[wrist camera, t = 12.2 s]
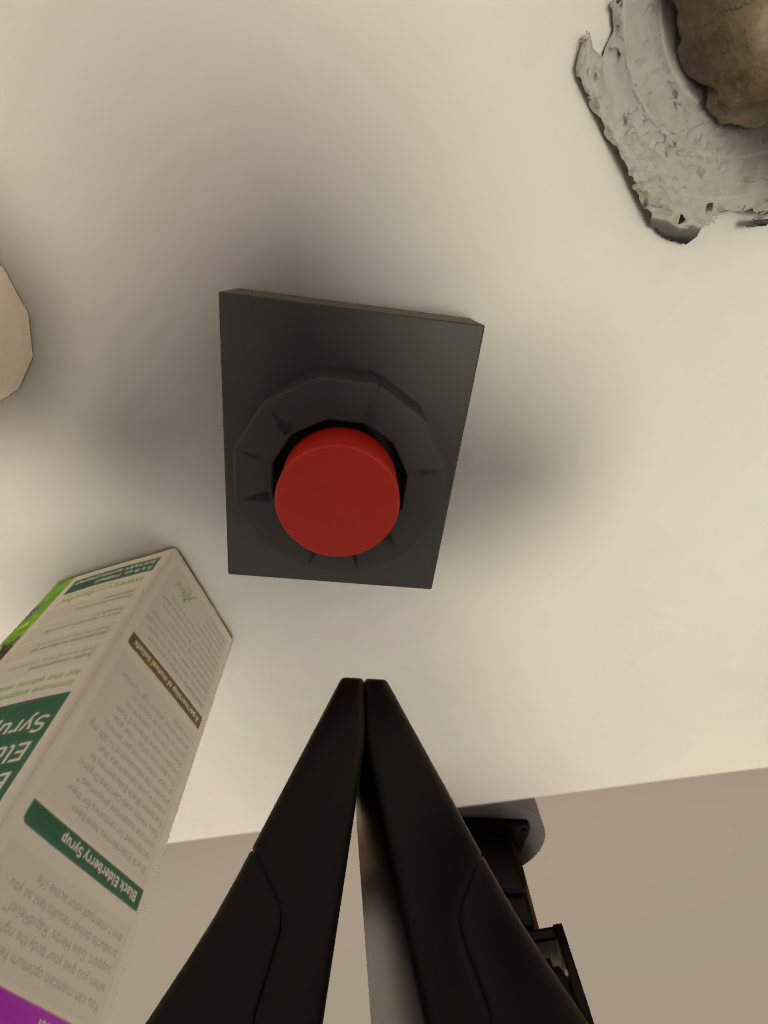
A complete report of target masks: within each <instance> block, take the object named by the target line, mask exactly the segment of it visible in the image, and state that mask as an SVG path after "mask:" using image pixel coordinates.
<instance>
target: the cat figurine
mask: <svg viewBox="0 0 768 1024" xmlns="http://www.w3.org/2000/svg"><path fill="white" fill-rule="evenodd" d="M610 7H611V8H612V11H613V15H612V20H613V26H614V29H613V33H612V35H611V37H610V39H609V41H608V43H607V45H606V47H605V50H604V55H603V56H600V55H598V53H596V52H595V51H594V49H593V48H592V42H591V37H590V33H589V32H587V31H586V35H584V36H583V39H581V43H582V46H581V48H580V50H579V54H578V59H577V64H576V68H575V69H576V75H577V77H580V78H581V79H582V85H584V89H585V92H586V93H588V94H589V96H588V100H589V99H591V100H589V107H590V108H591V110H592V111H593V112H594V113H595V114H597V115H598V116H599V117H600V118H601V119H602V121H603V124H604V126H605V130H604V135H605V137H606V138H607V139H608V140H609V141H610V142H611V143H612V144H613V145H614V146H618V149H619V151H620V157H621V158H622V159H623V160H624V161H625V163H626V165H627V167H628V174H629V176H633V179H634V182H635V181H636V183H635V184H634V185H633V186H632V188H633V189H634V190H636V192H637V193H638V195H639V196H640V198H639V200H640V202H641V205H642V207H643V208H644V209H646V210H649V211H650V212H651V213H652V217H651V219H650V224H651V228H654V227H655V228H658V231H659V233H660V234H661V235H663V236H664V237H665V238H666V239H668V238H669V239H670V241H677V242H679V243H681V244H682V243H684V244H687V243H689V242H690V241H691V240H693V239H694V238H695V237H697V235H698V233H699V231H700V229H701V228H702V227H703V226H704V225H710V223H711V222H712V223H714V219H716V218H717V214H718V213H720V212H721V211H723V210H731V211H737V212H739V211H745V210H748V209H751V208H753V211H754V212H756V213H758V212H759V213H760V214H764V213H766V211H767V212H768V0H621V1H620V2H619V3H618V4H617V2H616V0H612V2H611V4H610ZM708 203H713V209H712V214H708V215H707V214H706V206H707V204H708ZM681 213H682V215H683V216H684V217H685V219H686V220H685V221H684V222H683V223H682V224H678V222H679V218H680V215H681ZM767 214H768V213H767ZM767 224H768V219H764V220H755V219H753V221H751V222H749V223H748V224H747V225H745V226H747V228H748V227H755V226H766V225H767Z"/></svg>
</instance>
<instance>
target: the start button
mask: <svg viewBox="0 0 768 1024" xmlns="http://www.w3.org/2000/svg"><path fill="white" fill-rule="evenodd" d="M275 508H276V512H277V515H278V518H279V520H280V522H281V524H282V526H283V528H284V529H285V531H286V532H287V533H288V534H289V535H290V537H291V538H292V539H293V540H295V541H296V542H297V543H298V544H300V545H301V546H303V547H304V548H306V549H308V550H310V551H313V552H315V553H318V554H322V555H326V556H334V557H343V556H351V555H356V554H359V553H362V552H365V551H367V550H369V549H371V548H373V547H374V546H376V545H377V544H378V543H380V542H381V541H382V540H383V539H384V538H385V537H386V536H387V535H388V534H389V532H390V531H391V530H392V528H393V526H394V524H395V522H396V520H397V517H398V513H399V508H400V495H399V489H398V482H397V476H396V471H395V466H394V464H393V461H392V459H391V457H390V455H389V453H388V452H387V451H386V449H385V448H384V447H383V446H382V445H381V444H380V443H379V442H378V441H377V440H376V439H374V438H373V437H371V436H370V435H368V434H366V433H364V432H362V431H360V430H356V429H353V428H347V427H329V428H324V429H320V430H317V431H315V432H313V433H311V434H309V435H307V436H306V437H304V438H303V439H301V440H300V441H299V442H298V443H297V444H296V445H295V446H294V448H293V449H292V450H291V452H290V454H289V455H288V457H287V460H286V462H285V465H284V467H283V470H282V472H281V475H280V477H279V480H278V482H277V486H276V490H275Z"/></svg>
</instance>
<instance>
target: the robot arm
mask: <svg viewBox="0 0 768 1024" xmlns="http://www.w3.org/2000/svg"><path fill="white" fill-rule="evenodd" d="M355 806H356V817H357V832H358V846H359V860H360V874H361V887H362V902H363V914H364V915H363V916H364V930H365V944H366V957H367V972H368V986H369V999H370V1013H371V1024H594V1022H593V1019H592V1016H591V1013H590V1009H589V1006H588V1003H587V1000H586V997H585V994H584V991H583V988H582V985H581V981H580V979H579V976H578V972H577V969H576V966H575V963H574V960H573V957H572V954H571V951H570V948H569V945H568V942H567V939H566V936H565V933H564V930H563V926H562V924H561V923H560V924H555V925H553V927H548V928H542V929H539V926H538V923H537V919H536V915H535V911H534V908H533V904H532V900H531V896H530V893H529V889H528V885H527V881H526V878H525V874H524V870H523V867H522V863H521V859H520V855H519V854H520V852H521V850H522V848H523V845H524V843H525V841H526V839H527V836H528V834H529V832H530V830H531V827H530V824H529V821H528V820H526V819H504V818H472V817H461V815H460V813H459V811H458V809H457V808H456V806H455V804H454V802H453V800H452V799H451V797H450V795H449V793H448V791H447V789H446V788H445V786H444V784H443V782H442V780H441V779H440V777H439V775H438V773H437V771H436V769H435V768H434V766H433V764H432V762H431V760H430V759H429V757H428V755H427V753H426V751H425V749H424V748H423V746H422V744H421V742H420V740H419V739H418V737H417V735H416V733H415V731H414V729H413V728H412V726H411V724H410V722H409V720H408V719H407V717H406V715H405V713H404V711H403V709H402V708H401V706H400V704H399V702H398V700H397V698H396V697H395V695H394V693H393V691H392V689H391V688H390V686H389V684H388V683H387V681H385V680H380V679H366V680H365V681H363V680H362V679H360V678H342V679H341V680H340V682H339V684H338V686H337V688H336V689H335V691H334V693H333V695H332V697H331V699H330V701H329V703H328V705H327V707H326V709H325V710H324V712H323V714H322V716H321V718H320V720H319V722H318V724H317V726H316V728H315V730H314V731H313V733H312V735H311V737H310V739H309V741H308V743H307V745H306V747H305V749H304V751H303V752H302V754H301V756H300V758H299V760H298V762H297V764H296V766H295V768H294V770H293V772H292V773H291V775H290V777H289V779H288V781H287V783H286V785H285V787H284V789H283V791H282V793H281V794H280V796H279V798H278V800H277V802H276V804H275V806H274V808H273V810H272V812H271V814H270V815H269V817H268V819H267V821H266V823H265V825H264V827H263V829H262V831H261V833H260V835H259V837H258V838H257V840H256V842H255V844H254V846H253V851H251V852H250V853H249V855H248V857H247V859H246V861H245V863H244V864H243V867H242V868H241V870H240V872H239V874H238V876H237V878H236V880H235V882H234V883H233V885H232V887H231V888H230V890H229V892H228V894H227V896H226V897H225V899H224V901H223V903H222V905H221V906H220V908H219V910H218V912H217V914H216V915H215V917H214V919H213V920H212V922H211V923H210V925H209V927H208V928H207V930H206V931H205V933H204V935H203V936H202V938H201V939H200V941H199V943H198V944H197V946H196V947H195V949H194V951H193V952H192V954H191V955H190V957H189V959H188V960H187V962H186V963H185V965H184V966H183V968H182V969H181V971H180V972H179V974H178V975H177V977H176V978H175V980H174V981H173V983H172V984H171V986H170V988H169V989H168V990H167V992H166V994H165V995H164V996H163V998H162V999H161V1001H160V1003H159V1004H158V1006H157V1007H156V1009H155V1010H154V1012H153V1013H152V1015H151V1016H150V1018H149V1019H148V1021H147V1022H146V1024H323V1018H324V1011H325V1005H326V998H327V992H328V985H329V978H330V972H331V965H332V958H333V952H334V945H335V939H336V932H337V925H338V918H339V912H340V905H341V899H342V892H343V886H344V879H345V872H346V866H347V859H348V852H349V846H350V839H351V833H352V826H353V819H354V813H355Z"/></svg>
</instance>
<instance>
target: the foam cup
mask: <svg viewBox="0 0 768 1024" xmlns="http://www.w3.org/2000/svg"><path fill="white" fill-rule="evenodd" d="M32 358H33V353H32V344H31V335H30V326H29V317H28V312H27V311H26V309H25V307H24V305H23V303H22V301H21V300H20V298H19V296H18V294H17V292H16V290H15V289H14V287H13V285H12V283H11V281H10V279H9V278H8V276H7V274H6V272H5V270H4V268H3V267H2V266H1V265H0V401H1V400H3V399H4V398H6V397H7V396H9V395H10V394H11V393H13V392H14V391H16V390H18V389H19V387H20V385H21V382H22V380H23V378H24V376H25V373H26V371H27V369H28V367H29V364H30V362H31V360H32Z"/></svg>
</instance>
